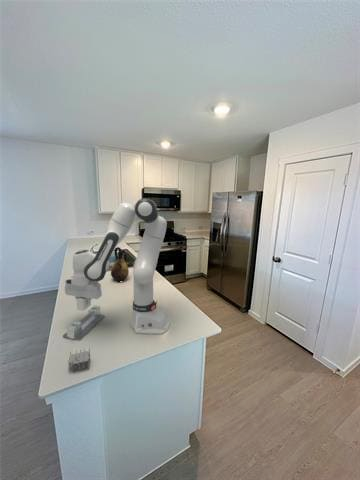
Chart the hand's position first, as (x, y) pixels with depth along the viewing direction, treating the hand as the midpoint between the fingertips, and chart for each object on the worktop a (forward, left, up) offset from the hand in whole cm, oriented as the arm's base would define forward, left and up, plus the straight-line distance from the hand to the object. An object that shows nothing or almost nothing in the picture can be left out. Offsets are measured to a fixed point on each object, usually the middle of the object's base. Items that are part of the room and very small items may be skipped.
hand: (83, 303), depth 109 cm
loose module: (0, 0, -2) cm, 2 cm away
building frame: (-16, +25, -14) cm, 33 cm away
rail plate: (0, 0, -14) cm, 14 cm away
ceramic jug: (+14, -67, -14) cm, 70 cm away
